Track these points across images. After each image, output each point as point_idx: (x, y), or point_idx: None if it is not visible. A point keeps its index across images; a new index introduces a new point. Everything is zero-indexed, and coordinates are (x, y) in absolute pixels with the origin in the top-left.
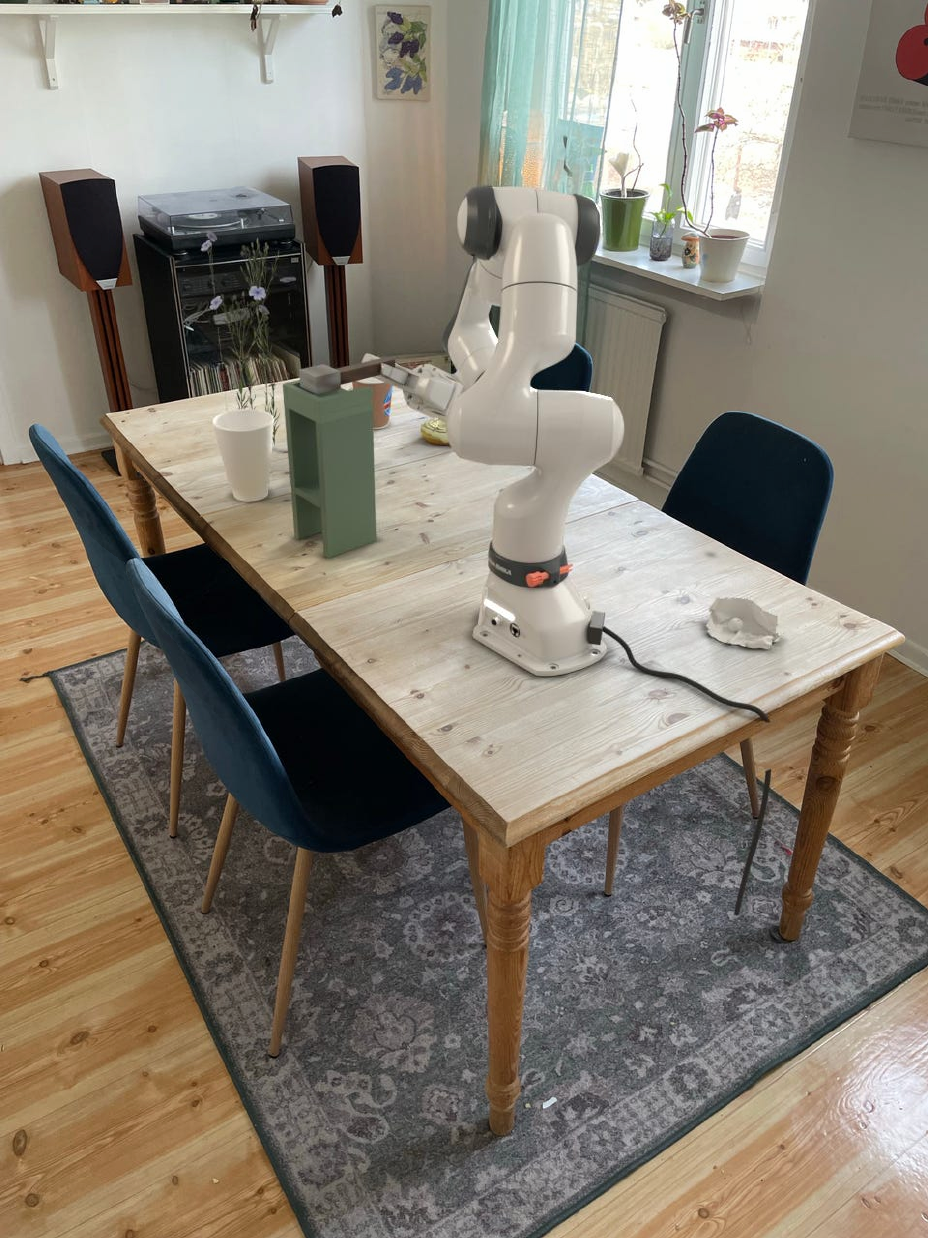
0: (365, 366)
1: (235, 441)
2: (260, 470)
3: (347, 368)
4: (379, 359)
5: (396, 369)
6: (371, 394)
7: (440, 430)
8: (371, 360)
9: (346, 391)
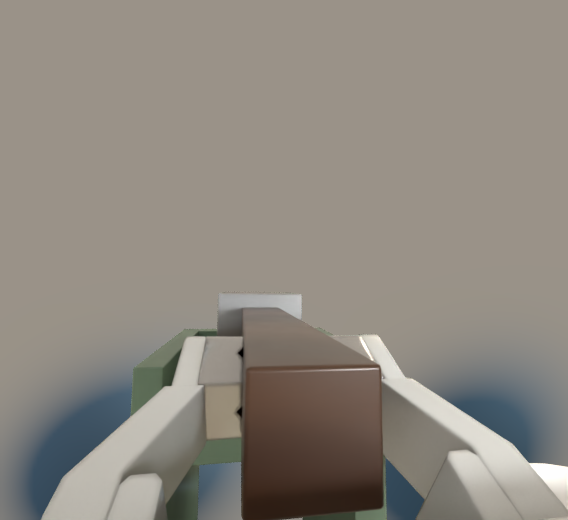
0: (243, 320)
1: None
2: None
3: (263, 312)
4: (314, 340)
5: (139, 417)
6: (133, 395)
7: None
8: (315, 330)
9: (182, 345)
